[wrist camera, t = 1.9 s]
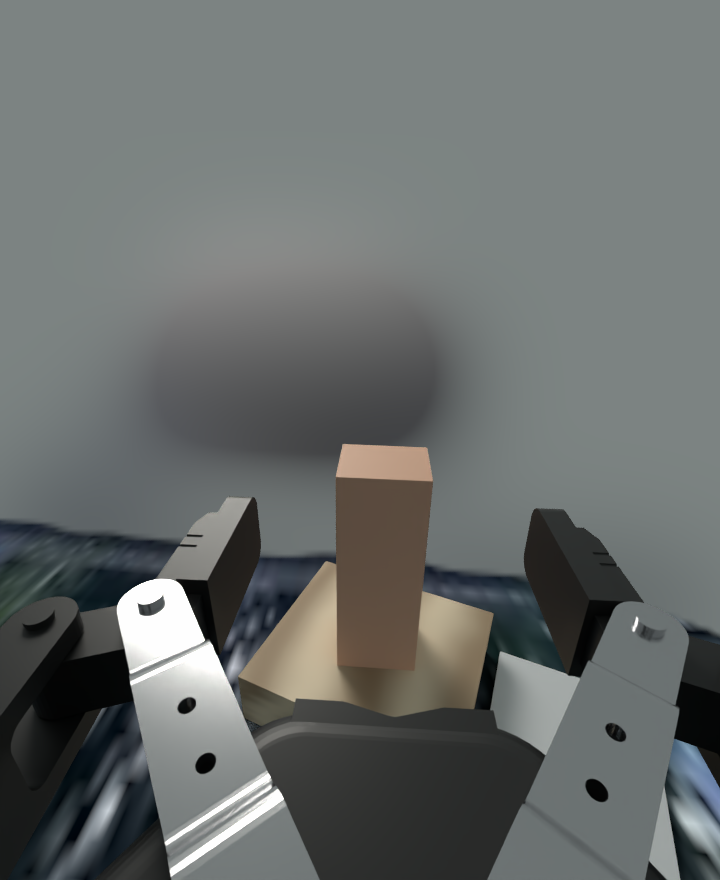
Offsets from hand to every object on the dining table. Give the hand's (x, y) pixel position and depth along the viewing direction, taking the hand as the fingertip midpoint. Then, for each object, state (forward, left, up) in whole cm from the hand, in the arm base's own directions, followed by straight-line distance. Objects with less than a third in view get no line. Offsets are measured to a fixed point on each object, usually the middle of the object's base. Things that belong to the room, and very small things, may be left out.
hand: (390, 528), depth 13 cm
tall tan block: (-4, +10, -18) cm, 21 cm away
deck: (-4, +10, -22) cm, 24 cm away
